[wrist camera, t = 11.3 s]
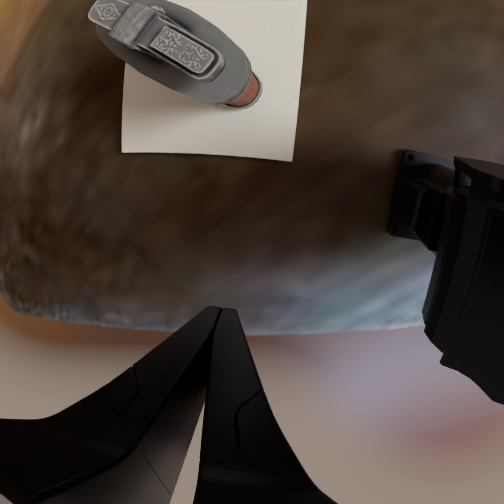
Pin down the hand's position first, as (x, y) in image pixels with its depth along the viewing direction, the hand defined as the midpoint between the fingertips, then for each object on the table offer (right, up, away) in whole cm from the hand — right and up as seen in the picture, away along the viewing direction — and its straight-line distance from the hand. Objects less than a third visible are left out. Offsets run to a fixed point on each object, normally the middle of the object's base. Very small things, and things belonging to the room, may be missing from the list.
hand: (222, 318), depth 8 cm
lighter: (-2, +14, +7) cm, 16 cm away
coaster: (-2, +14, +8) cm, 16 cm away
